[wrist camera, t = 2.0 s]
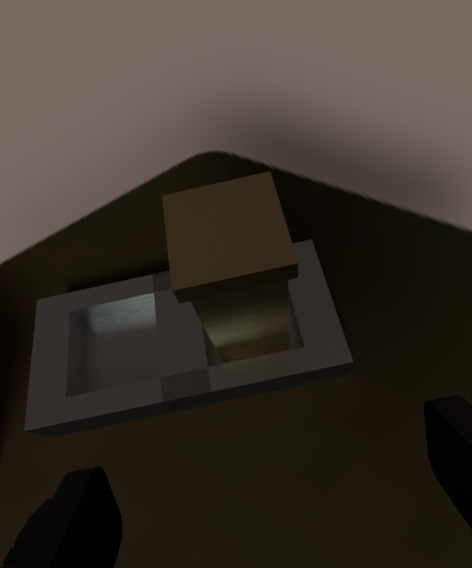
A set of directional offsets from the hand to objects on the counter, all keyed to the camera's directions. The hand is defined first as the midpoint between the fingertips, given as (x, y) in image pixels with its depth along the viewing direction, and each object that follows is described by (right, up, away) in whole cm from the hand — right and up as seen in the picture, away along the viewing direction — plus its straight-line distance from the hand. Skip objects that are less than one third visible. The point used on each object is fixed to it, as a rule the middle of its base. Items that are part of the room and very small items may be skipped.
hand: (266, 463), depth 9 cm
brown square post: (0, +2, +17) cm, 17 cm away
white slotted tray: (-4, 0, +18) cm, 18 cm away
